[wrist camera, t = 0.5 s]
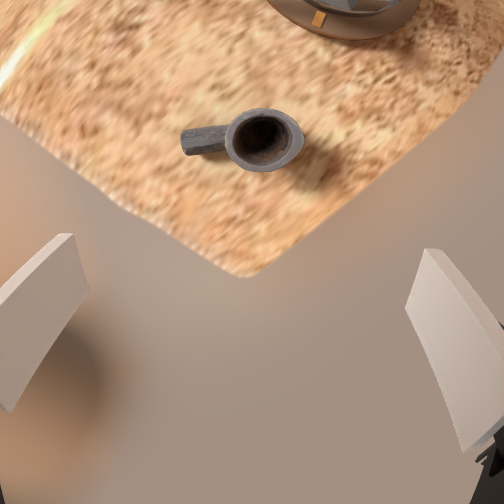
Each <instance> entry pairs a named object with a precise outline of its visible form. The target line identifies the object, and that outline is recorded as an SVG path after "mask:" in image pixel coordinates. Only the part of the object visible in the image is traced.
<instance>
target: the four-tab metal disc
mask: <svg viewBox="0 0 504 504" xmlns="http://www.w3.org/2000/svg"><path fill="white" fill-rule="evenodd" d="M304 1H305V2H307V3H309V4H310V5H312V6H314V7H316V8H319V9H321V10H323V11H326V12H329V13H332V14H336V15H341V16H347V17H368V16H374V15H377V14H381V13H383V12H385V11H387V10H388V9H390V8H391V7H393V6H394V5H396V4H397V3H399V2H400V1H401V0H304Z"/></svg>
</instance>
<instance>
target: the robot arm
mask: <svg viewBox="0 0 504 504" xmlns="http://www.w3.org/2000/svg"><path fill="white" fill-rule="evenodd" d="M89 292H90V290H89V287H88V284H87V281H86V278H85V274H84V271H83V268H82V264H81V261H80V257H79V253H78V250H77V246H76V242H75V238H74V234H70V233H69V234H68V233H60V234H58V235H57V236H56V237H55V238H53V239H52V240H51V241H50V242H49V243H48V244H46V245H45V246H44V247H43V248H42V249H41V250H40V251H39V252H37V253H36V254H35V255H34V256H33V257H32V258H31V259H30V260H29V261H28V262H26V264H24V266H23V267H21V268H20V269H19V270H18V271H17V272H16V273H15V274H14V275H13V276H12V277H11V278H10V279H9V280H8V281H7V282H6V283H5V284H4V285H3V286H2V287H1V288H0V408H1V409H2V410H4V411H6V412H7V413H9V414H11V413H12V411H13V409H14V407H15V405H16V404H17V402H18V400H19V398H20V396H21V395H22V393H23V391H24V389H25V388H26V386H27V384H28V383H29V381H30V379H31V378H32V376H33V374H34V373H35V371H36V369H37V368H38V366H39V365H40V363H41V361H42V360H43V358H44V357H45V355H46V354H47V352H48V350H49V349H50V347H51V346H52V344H53V343H54V341H55V340H56V338H57V337H58V335H59V334H60V332H61V331H62V330H63V328H64V326H65V325H66V324H67V322H68V321H69V320H70V318H71V317H72V315H73V314H74V313H75V311H76V310H77V308H78V307H79V306H80V304H81V303H82V302H83V300H84V299H85V297H86V296H87V295H88V293H89ZM405 310H406V312H407V314H408V316H409V318H410V320H411V322H412V324H413V327H414V328H415V331H416V333H417V335H418V337H419V339H420V341H421V344H422V346H423V348H424V350H425V353H426V355H427V357H428V360H429V362H430V364H431V367H432V369H433V371H434V374H435V376H436V379H437V381H438V384H439V386H440V389H441V391H442V394H443V396H444V399H445V402H446V404H447V407H448V410H449V413H450V415H451V418H452V421H453V424H454V427H455V430H456V433H457V436H458V439H459V442H460V446H461V449H462V452H463V453H465V452H467V451H470V450H473V449H475V448H478V447H481V446H482V445H483V444H484V443H486V442H487V441H488V440H489V439H490V438H491V437H492V436H494V439H495V442H494V443H493V444H492V445H491V446H490V447H489V448H487V449H486V450H485V451H484V452H483V453H482V454H480V455H479V456H478V457H477V459H476V461H475V462H479V461H480V460H482V459H483V458H484V457H485V456H487V459H485V460H484V461H483V462H482V463H481V465H484V468H483V470H482V473H481V476H480V479H479V482H478V484H477V487H476V489H475V492H474V494H473V497H472V499H471V501H470V504H504V326H503V325H501V324H500V323H499V322H498V321H497V320H496V318H495V317H494V316H493V315H492V313H491V312H490V310H489V309H488V307H487V306H486V305H485V303H484V302H483V300H482V299H481V298H480V296H479V295H478V294H477V293H476V291H475V290H474V289H473V287H472V286H471V285H470V284H469V282H468V281H467V280H466V279H465V278H464V276H463V275H462V274H461V273H460V271H459V270H458V269H457V268H456V266H455V265H454V264H453V263H452V262H451V261H450V259H449V258H448V257H447V256H446V255H445V254H444V252H443V251H442V250H441V249H427V248H425V249H424V252H423V256H422V259H421V262H420V265H419V269H418V272H417V275H416V278H415V281H414V284H413V287H412V290H411V292H410V295H409V298H408V301H407V303H406V306H405ZM0 504H5V502H4V498H3V495H2V490H1V486H0Z"/></svg>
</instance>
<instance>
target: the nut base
mask: <svg viewBox="0 0 504 504" xmlns="http://www.w3.org/2000/svg"><path fill="white" fill-rule="evenodd" d="M267 1H268V2H269V3H270V4H271V5H272V6H273V8H274V9H276V10H277V11H278V12H279V13H280V14H282V15H283V16H284V17H286V18H287V19H289V20H290V21H292V22H293V23H295V24H297V25H299V26H301V27H303V28H305V29H307V30H309V31H312V32H315V33H318V34H320V35H323V36H328V37H332V38H337V39H344V40H367V39H373V38H378V37H381V36H384V35H386V34H388V33H390V32H392V31H395V30H397V29H399V28H400V27H402V26H403V25H405V24H406V23H407V22H408V21H409V20H410V19H411V18H412V16H413V15H414V13H415V12H416V10H417V7H418V5H419V1H420V0H401V1H400V2H399V3H397V4H396V5H394V6H393V7H391V8H390V9H388V10H387V11H385V12H383V13H381V14H377V15H374V16H368V17H347V16H341V15H336V14H332V13H329V12H326V11H323V10H321V9H319V8H316V7H314V6H312V5H310V4H309V3H307V2H305V1H304V0H267Z"/></svg>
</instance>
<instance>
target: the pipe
mask: <svg viewBox="0 0 504 504" xmlns="http://www.w3.org/2000/svg"><path fill="white" fill-rule="evenodd" d="M180 141H181V146H182V149H183V152H184V153H185V154H186V155H187V156H192V155H198V154H204V153H211V152H216V151H221V150H227V153H228V154H229V156H230V157H231V159H232V160H233V161H234V162H235V163H236V164H237V165H238V166H240V167H241V168H243V169H245V170H248V171H251V172H259V173H260V172H271V171H275V170H277V169H279V168H281V167H283V166H285V165H286V164H288V163H289V162H290V161H291V160H292V159H293V158H294V157H296V156H297V155H298V154H299V152H300V151H301V150H302V147H303V145H304V143H305V137H304V134H303V132H302V130H301V129H300V127H299V125H298V124H297V122H296V121H295V120H294V119H293V118H291V117H289V116H288V115H286V114H284V113H282V112H280V111H277V110H274V109H266V108H258V109H252V110H248V111H246V112H243V113H241V114H240V115H238V116H237V117H236V118H235V119H234V120H233V121H232V122H231V123H230V125H220V126H210V127H202V128H195V129H188V130H182V131H181V135H180Z"/></svg>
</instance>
